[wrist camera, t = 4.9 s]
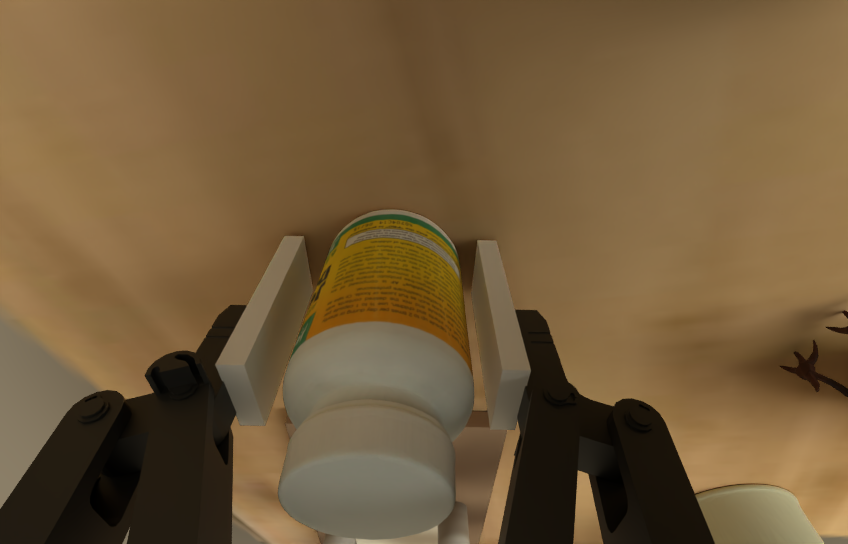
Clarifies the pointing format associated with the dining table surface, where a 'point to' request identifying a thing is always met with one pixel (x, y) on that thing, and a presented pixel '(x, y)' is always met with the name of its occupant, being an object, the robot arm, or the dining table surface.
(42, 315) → the dining table surface
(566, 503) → the robot arm
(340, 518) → the supplement bottle
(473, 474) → the pin nest
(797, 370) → the decorative bird
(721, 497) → the can
